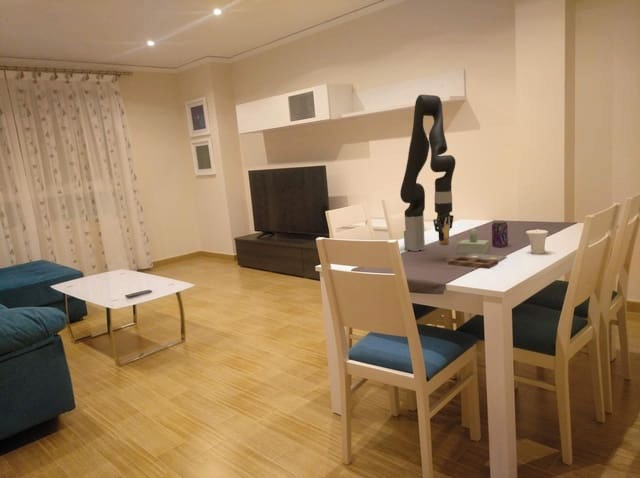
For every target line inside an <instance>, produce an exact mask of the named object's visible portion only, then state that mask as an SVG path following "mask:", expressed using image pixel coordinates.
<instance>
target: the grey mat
mask: <svg viewBox="0 0 640 478" xmlns="http://www.w3.org/2000/svg"><path fill="white" fill-rule="evenodd" d="M464 257H471V258H482V259H493V260H498V263H499V262H501V261H503V260H505V259H507V257H508V256H505V255H493V254H486V253H485V254H474V253H472V254H468V255H465V256H464Z"/></svg>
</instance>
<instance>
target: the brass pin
mask: <svg viewBox="0 0 640 478" xmlns="http://www.w3.org/2000/svg"><path fill="white" fill-rule="evenodd" d="M441 229H442V227H441ZM449 239H450V230H449V225H448V224H446V225H445V227H444V241H439V240H438V241H439V243H438V244H439V246H448V245H450V244H449V243H450V240H449Z"/></svg>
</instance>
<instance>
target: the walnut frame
mask: <svg viewBox="0 0 640 478" xmlns="http://www.w3.org/2000/svg"><path fill="white" fill-rule="evenodd" d="M447 263H448V265H451V264H452V265H453V266H460V265H461V266H463V267H469V268H470V267H471V268H480V269H491V268H493V267H495V266H497V265H498V264H499V262H498V260H493V259H482V258H471V257H465V256H459V255H457V256H455V257H453V258H451V259H449V260H447Z"/></svg>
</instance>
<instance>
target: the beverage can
mask: <svg viewBox="0 0 640 478" xmlns="http://www.w3.org/2000/svg"><path fill="white" fill-rule="evenodd" d="M508 229H509V227H508V224H507V221H505V220H497V221H495V220H494V221H492V224H491V246H493V247H496V248H505V247H507V246H508V245H509V242H508V241H509V239H508V238H509V237H508V234H509V233H508Z"/></svg>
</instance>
